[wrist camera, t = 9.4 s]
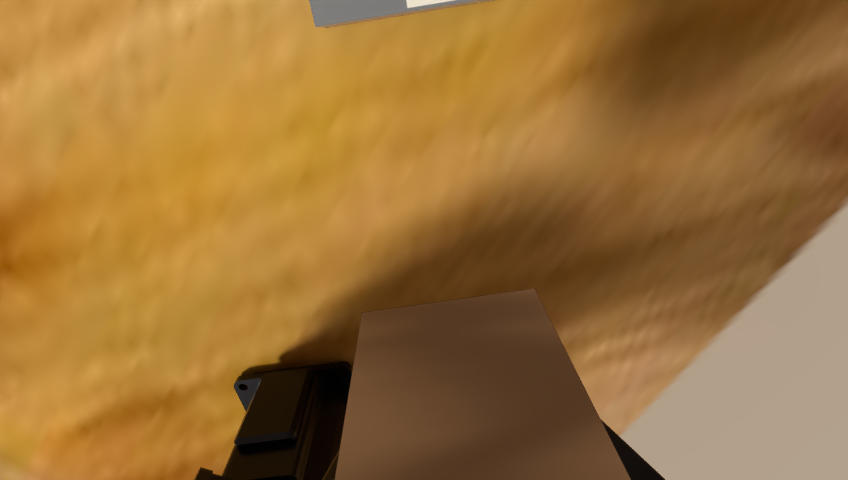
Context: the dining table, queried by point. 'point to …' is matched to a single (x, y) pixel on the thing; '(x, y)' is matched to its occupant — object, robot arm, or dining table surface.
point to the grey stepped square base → (374, 9)
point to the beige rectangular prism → (470, 397)
